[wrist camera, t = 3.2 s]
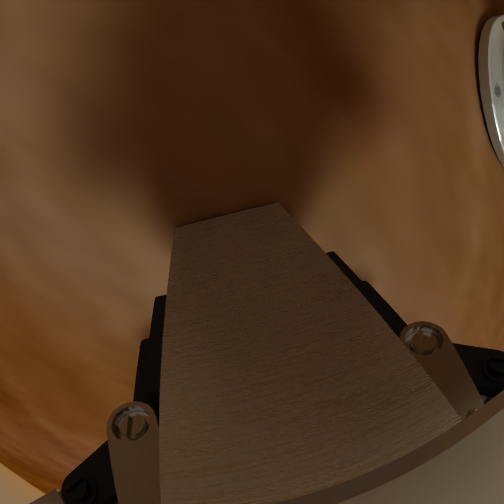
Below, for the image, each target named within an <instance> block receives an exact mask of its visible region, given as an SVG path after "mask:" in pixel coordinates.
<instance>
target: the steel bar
mask: <svg viewBox="0 0 504 504" xmlns="http://www.w3.org/2000/svg"><path fill="white" fill-rule="evenodd" d="M461 421H462V420H461V418H460V417H459V416H458V414H457V413H456V411H455V410H454V409H453V407H452V406H451V405H450V403H449V402H448V401H447V399H446V398H445V397H444V395H443V394H442V393H441V391H440V390H439V389H438V387H437V386H436V385H435V383H434V382H433V381H432V379H431V378H430V377H429V375H428V374H427V373H426V372H425V370H424V369H423V368H422V366H421V365H420V364H419V363H418V361H417V360H416V359H415V358H414V356H413V355H412V354H411V353H410V351H409V350H408V349H407V348H406V346H405V345H404V344H403V343H402V341H401V340H400V339H399V338H398V336H397V335H396V334H395V333H394V332H393V330H392V329H391V328H390V327H389V326H388V324H387V323H386V322H385V321H384V320H383V318H382V317H381V316H380V315H379V314H378V312H377V311H376V310H375V309H374V308H373V306H372V305H371V304H370V303H369V302H368V301H367V299H366V298H365V297H364V296H363V295H362V294H361V292H360V291H359V290H358V289H357V288H356V287H355V286H354V284H353V283H352V282H351V281H350V280H349V279H348V278H347V276H346V275H345V274H344V273H343V272H342V271H341V270H340V269H339V267H338V266H337V265H336V264H335V263H334V262H333V261H332V260H331V259H330V257H329V256H328V255H327V254H326V253H325V252H324V251H323V250H322V249H321V248H320V246H319V245H318V244H317V243H316V242H315V241H314V240H313V239H312V238H311V237H310V236H309V234H308V233H307V232H306V231H305V230H304V229H303V228H302V227H301V226H300V225H299V224H298V223H297V222H296V221H295V220H294V218H293V217H292V216H291V215H290V214H289V213H288V212H287V211H286V210H285V209H284V208H283V207H282V206H281V205H280V204H279V203H274V204H269V205H265V206H261V207H257V208H252V209H248V210H244V211H240V212H236V213H232V214H228V215H224V216H220V217H216V218H212V219H208V220H204V221H200V222H197V223H193V224H189V225H185V226H181V227H178V228H175V232H174V239H173V246H172V254H171V262H170V270H169V278H168V287H167V297H166V307H165V318H164V330H163V343H162V359H161V378H160V406H159V466H160V492H161V504H273V503H277V502H281V501H285V500H289V499H293V498H297V497H300V496H304V495H307V494H310V493H314V492H317V491H320V490H323V489H326V488H329V487H332V486H335V485H337V484H340V483H343V482H345V481H348V480H351V479H353V478H356V477H358V476H361V475H363V474H365V473H368V472H370V471H372V470H375V469H377V468H379V467H381V466H383V465H385V464H388V463H390V462H392V461H394V460H396V459H398V458H400V457H402V456H404V455H406V454H408V453H409V452H411V451H413V450H415V449H417V448H419V447H420V446H422V445H424V444H426V443H427V442H429V441H431V440H433V439H434V438H436V437H438V436H439V435H441V434H442V433H444V432H446V431H447V430H449V429H450V428H452V427H453V426H455V425H456V424H458V423H459V422H461Z"/></svg>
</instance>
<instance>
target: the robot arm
mask: <svg viewBox="0 0 504 504" xmlns="http://www.w3.org/2000/svg"><path fill="white" fill-rule="evenodd" d="M478 69H479V83H480V93H481V99H482V105H483V111H484V115H485V120H486V124H487V129H488V132H489V135H490V138H491V141H492V145H493V147H494V149H495V152H496V154H497V156H498V159H499V160H500V162H501V164H502V165H503V167H504V15H497V16H493V17H491V18H490V19H488V20H487V21H486V23H485V25H484V27H483V29H482V33H481V37H480V41H479V53H478ZM326 254H327V255H328V256H329V257H330V259H331V260H332V261H333V262H334V263H335V264H336V265H337V266H338V267H339V269H340V270H341V271H342V272H343V273H344V274H345V275H346V276H347V278H348V279H349V280H350V281H351V282H352V283H353V284H354V286H355V287H356V288H357V289H358V290H359V291H360V292H361V294H362V295H363V296H364V297H365V298H366V299H367V301H368V302H369V303H370V304H371V305H372V306H373V308H374V309H375V310H376V311H377V312H378V314H379V315H380V316H381V317H382V318H383V320H384V321H385V322H386V323H387V324H388V326H389V327H390V328H391V329H392V330H393V332H394V333H395V334H396V335H397V336H398V338H399V339H400V340H401V341H402V343H403V344H404V345H405V346H406V348H407V349H408V350H409V351H410V353H411V354H412V355H413V356H414V358H415V359H416V360H417V361H418V363H419V364H420V365H421V366H422V368H423V369H424V370H425V372H426V373H427V374H428V375H429V377H430V378H431V379H432V381H433V382H434V383H435V385H436V386H437V387H438V389H439V390H440V391H441V393H442V394H443V395H444V397H445V398H446V399H447V401H448V402H449V403H450V405H451V406H452V407H453V409H454V410H455V411H456V413H457V414H458V416H459V417H460V418H461V420H462V421H461V422H459V423H458V424H456V425H455V426H453V427H452V428H450V429H449V430H447V431H446V432H444V433H442V434H441V435H439V436H438V437H436V438H434V439H433V440H431V441H429V442H427V443H426V444H424V445H422V446H420V447H419V448H417V449H415V450H413V451H411V452H409V453H408V454H406V455H404V456H402V457H400V458H398V459H396V460H394V461H392V462H390V463H388V464H385V465H383V466H381V467H379V468H377V469H375V470H372V471H370V472H368V473H365V474H363V475H361V476H358V477H356V478H353V479H351V480H348V481H345V482H343V483H340V484H337V485H335V486H332V487H329V488H326V489H323V490H320V491H317V492H314V493H310V494H307V495H304V496H300V497H297V498H293V499H289V500H285V501H281V502H277V503H273V504H504V352H503V351H499V350H494V349H487V348H480V347H474V346H467V345H461V344H455V343H452V342H451V340H450V339H449V337H448V335H447V334H446V332H445V331H444V330H443V329H442V328H441V327H440V326H438V325H436V324H434V323H431V322H425V321H420V322H414V323H411V324H409V325H407V324H406V323H405V322H404V321H403V320H402V319H401V317H400V316H399V315H398V314H397V313H396V312H395V311H394V310H393V309H392V308H391V306H390V305H389V304H388V303H387V302H386V301H385V300H384V299H383V298H382V297H381V296H380V295H379V293H378V292H377V291H376V290H375V289H374V288H373V287H372V286H371V285H370V284H369V283H368V282H367V281H361V280H360V279H359V278H358V277H357V275H356V274H355V273H354V272H353V271H352V270H351V269H350V268H349V267H348V266H347V265H346V264H345V263H344V262H343V261H342V260H341V259H340V258H339V256H338V255H337V254H336V253H335V252H333V251H332V252H328V253H326ZM166 297H167V295H163V296H158V297H155V302H154V308H153V315H152V322H151V330H150V337H149V338H148V339H144V340H142V341H141V345H140V351H139V358H138V366H137V373H136V381H135V390H134V399H133V402H128V403H125V404H123V405H121V406H119V407H118V408H117V409H116V410H114V411H113V413H112V414H111V415H110V417H109V419H108V422H107V438H108V440H107V441H106V442H105V443H104V444H102V445H101V446H100V447H99V448H98V449H97V450H96V451H95V452H94V453H92V454H91V455H90V456H89V457H88V458H87V459H86V460H85V461H83V462H82V463H81V464H80V465H79V466H78V467H77V468H75V469H74V470H73V471H72V472H71V473H70V474H69V475H68V476H67V477H66V478H65V480H64V482H63V484H62V489H61V490H58V489H54V490H53V491H51V492H49V493H48V494H46V495H44V496H42V497H41V498H39V499H37V500H35V501H34V502H31V503H30V504H161V492H160V466H159V406H160V378H161V359H162V343H163V330H164V318H165V307H166Z"/></svg>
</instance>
